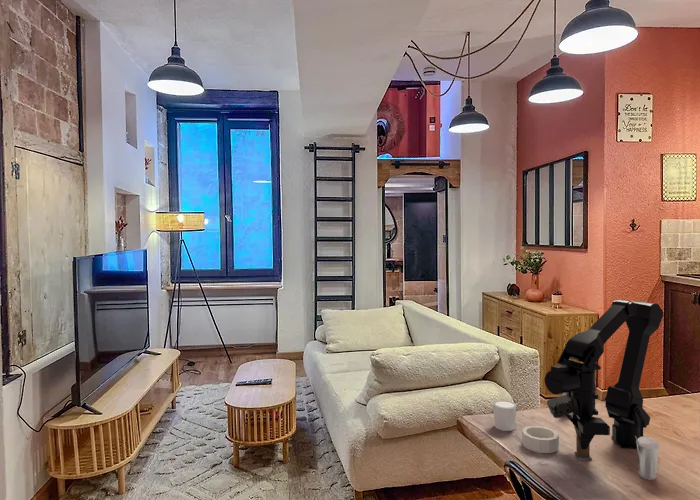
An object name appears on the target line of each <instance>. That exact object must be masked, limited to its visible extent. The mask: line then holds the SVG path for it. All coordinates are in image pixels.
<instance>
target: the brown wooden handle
mask: <svg viewBox="0 0 700 500" xmlns="http://www.w3.org/2000/svg"><path fill="white" fill-rule="evenodd" d="M575 434H576V435H575V437H576V449H575V450H576V451H574V452H573V454H574V456H575V457H576V459H577V460H579V461H593V458H592V457H591V455H590V454H591V451H590V450H591V449H590V448H591V446H590V445H591V443H590V444H589V446H588V447H587V449H582V448H581V443H580V436H579V430H578V429H577V428H576V431H575Z"/></svg>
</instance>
